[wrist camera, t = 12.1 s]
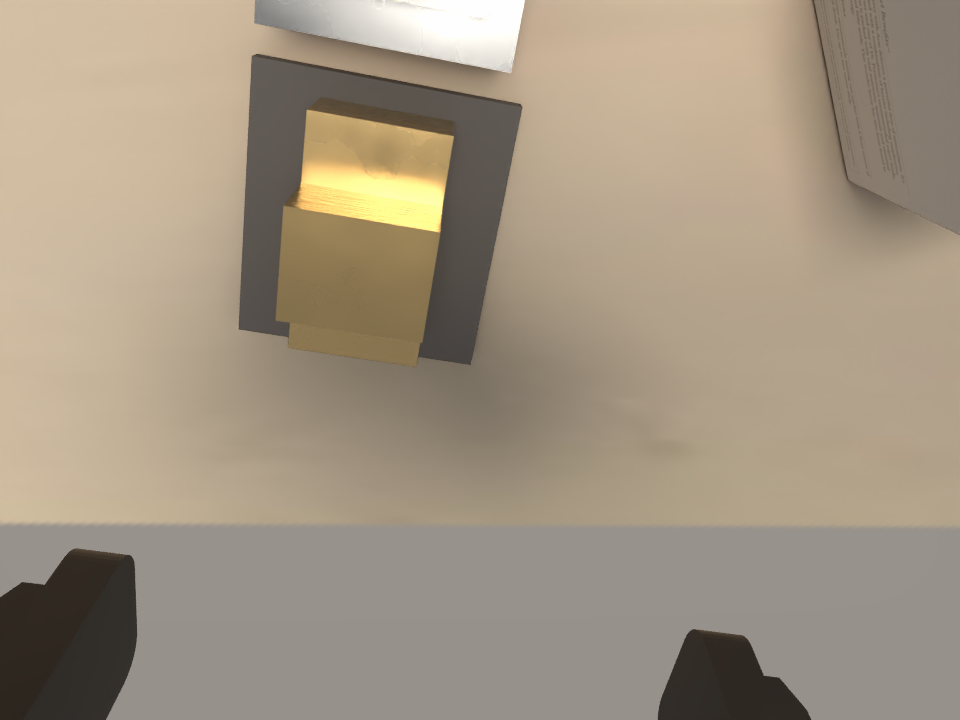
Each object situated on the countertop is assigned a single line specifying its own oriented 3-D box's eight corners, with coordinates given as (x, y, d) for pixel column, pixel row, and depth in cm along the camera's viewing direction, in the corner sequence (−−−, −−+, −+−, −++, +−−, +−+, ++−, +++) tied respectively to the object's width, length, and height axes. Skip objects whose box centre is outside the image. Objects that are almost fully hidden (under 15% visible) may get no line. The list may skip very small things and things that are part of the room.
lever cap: (454, 121, 29) (453, 154, 23) (419, 334, 33) (412, 405, 27) (321, 96, 28) (288, 125, 23) (302, 316, 32) (270, 384, 27)
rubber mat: (520, 104, 29) (522, 107, 29) (470, 356, 34) (470, 364, 33) (257, 53, 28) (251, 56, 28) (243, 321, 33) (238, 329, 32)
